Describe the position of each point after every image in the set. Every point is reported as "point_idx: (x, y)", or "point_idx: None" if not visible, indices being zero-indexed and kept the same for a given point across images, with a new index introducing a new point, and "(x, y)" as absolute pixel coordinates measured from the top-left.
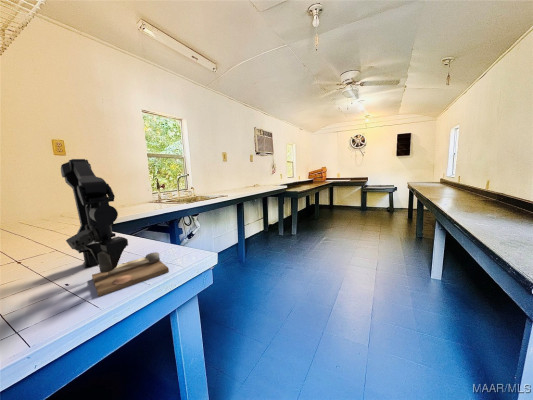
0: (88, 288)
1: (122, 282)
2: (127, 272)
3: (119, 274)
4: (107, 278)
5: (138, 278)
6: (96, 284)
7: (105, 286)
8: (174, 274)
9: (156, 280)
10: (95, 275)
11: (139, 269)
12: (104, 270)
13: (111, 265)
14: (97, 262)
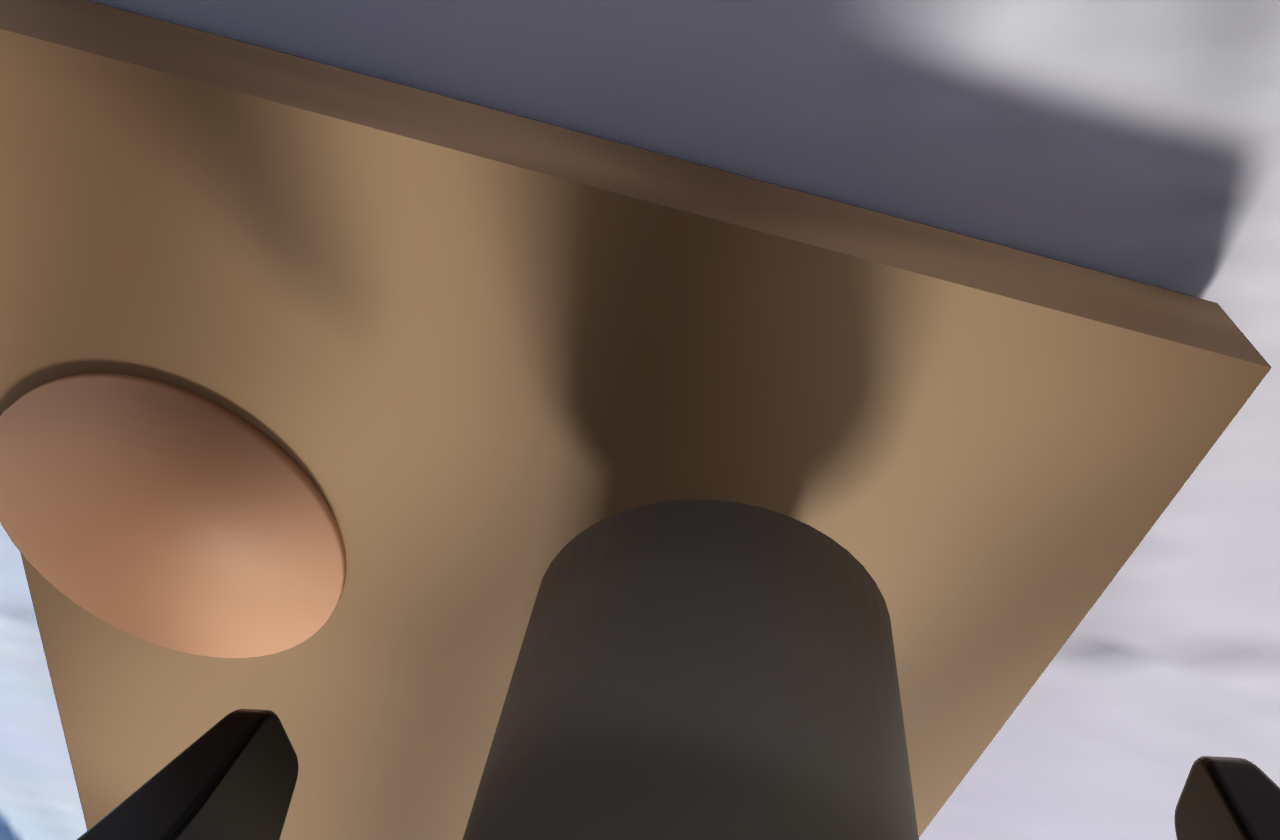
0: (756, 22)
1: (10, 475)
2: (475, 703)
3: (522, 617)
4: (546, 438)
5: (54, 648)
6: (424, 170)
7: (107, 236)
8: (35, 833)
9: (12, 697)
10: (1083, 390)
11: (418, 810)
12: (560, 584)
13: (169, 792)
14: (1244, 783)
